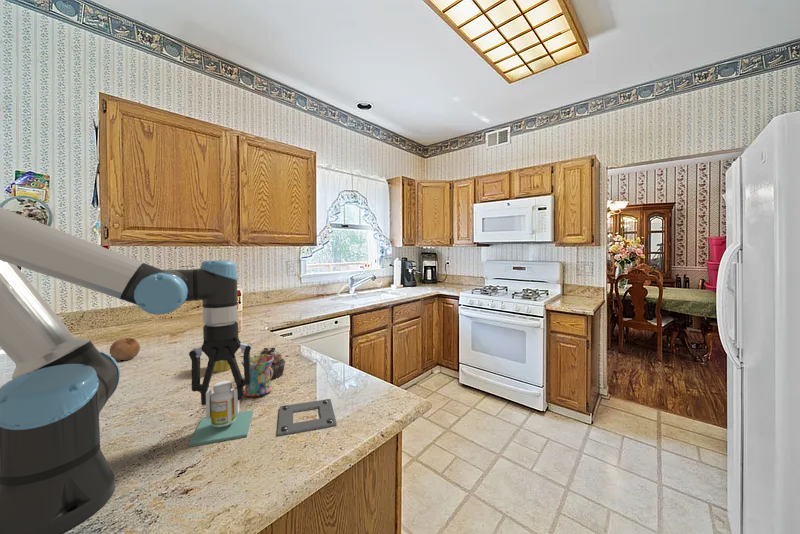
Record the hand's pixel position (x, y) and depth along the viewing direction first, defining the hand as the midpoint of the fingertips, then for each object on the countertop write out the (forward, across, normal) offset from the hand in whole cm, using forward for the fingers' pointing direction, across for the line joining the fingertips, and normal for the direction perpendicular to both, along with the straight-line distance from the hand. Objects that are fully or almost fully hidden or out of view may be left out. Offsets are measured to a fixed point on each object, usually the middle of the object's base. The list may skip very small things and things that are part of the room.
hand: (223, 414), depth 78 cm
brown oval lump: (+4, +49, -70) cm, 86 cm away
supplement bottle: (+2, 0, 0) cm, 2 cm away
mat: (+4, 0, 0) cm, 4 cm away
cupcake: (+4, -9, -32) cm, 33 cm away
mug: (+4, -7, -18) cm, 20 cm away
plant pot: (+4, +9, -45) cm, 46 cm away
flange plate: (+4, -20, +1) cm, 20 cm away
